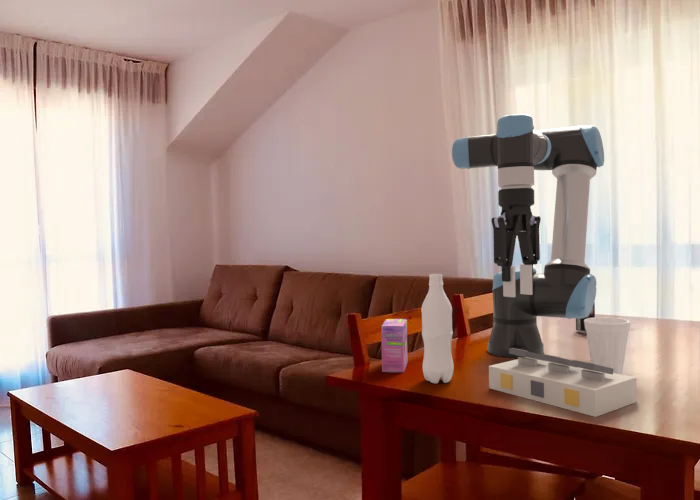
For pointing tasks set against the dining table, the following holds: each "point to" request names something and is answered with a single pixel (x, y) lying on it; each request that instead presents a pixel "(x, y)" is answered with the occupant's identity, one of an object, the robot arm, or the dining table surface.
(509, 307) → the robot arm
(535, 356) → the switch
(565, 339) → the dining table surface
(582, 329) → the beverage can
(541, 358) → the switch
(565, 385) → the console
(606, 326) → the cup
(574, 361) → the switch
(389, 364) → the box
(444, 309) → the water bottle
